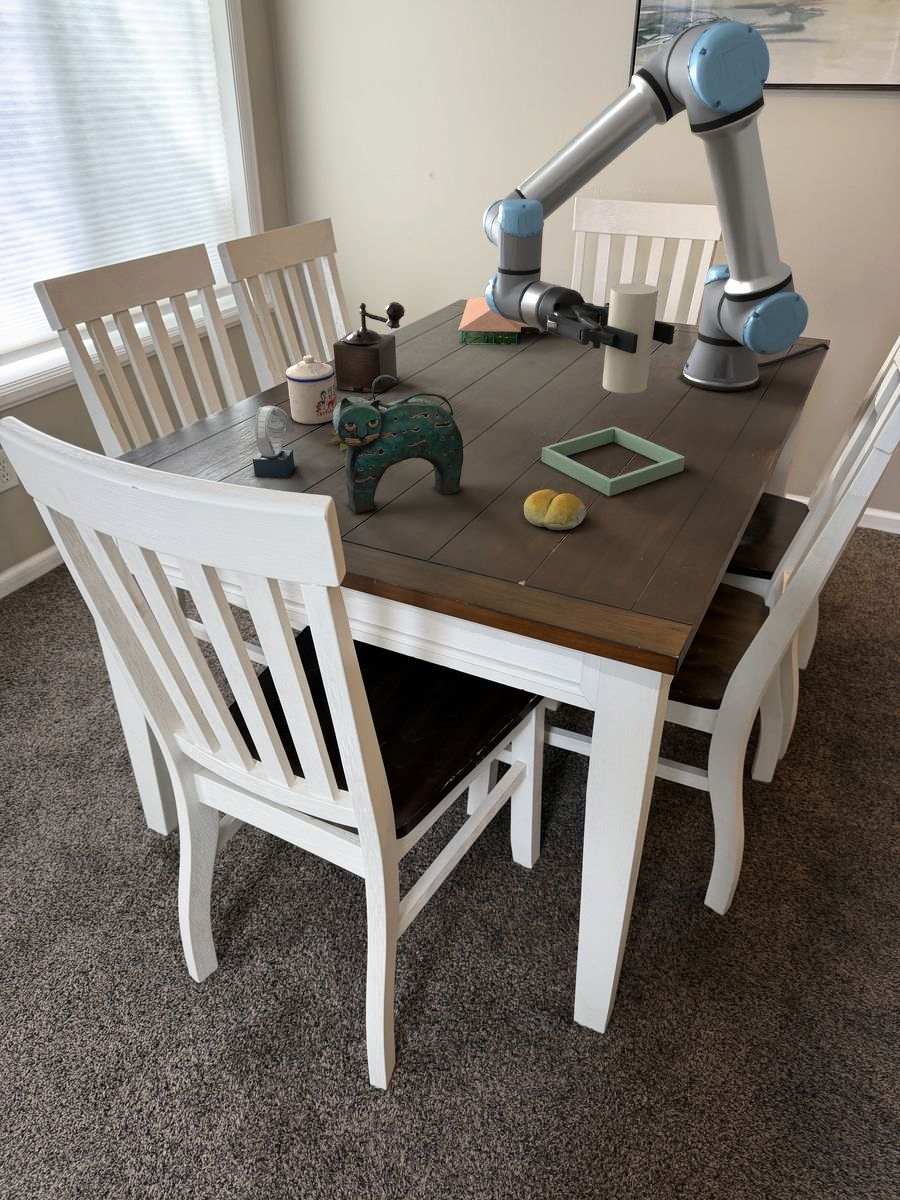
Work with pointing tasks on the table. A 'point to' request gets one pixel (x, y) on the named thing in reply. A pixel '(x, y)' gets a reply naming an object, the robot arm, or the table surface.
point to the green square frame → (665, 467)
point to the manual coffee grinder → (368, 354)
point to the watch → (272, 444)
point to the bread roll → (554, 510)
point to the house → (486, 321)
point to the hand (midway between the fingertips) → (653, 339)
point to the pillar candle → (635, 315)
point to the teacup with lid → (311, 391)
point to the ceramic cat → (396, 442)
